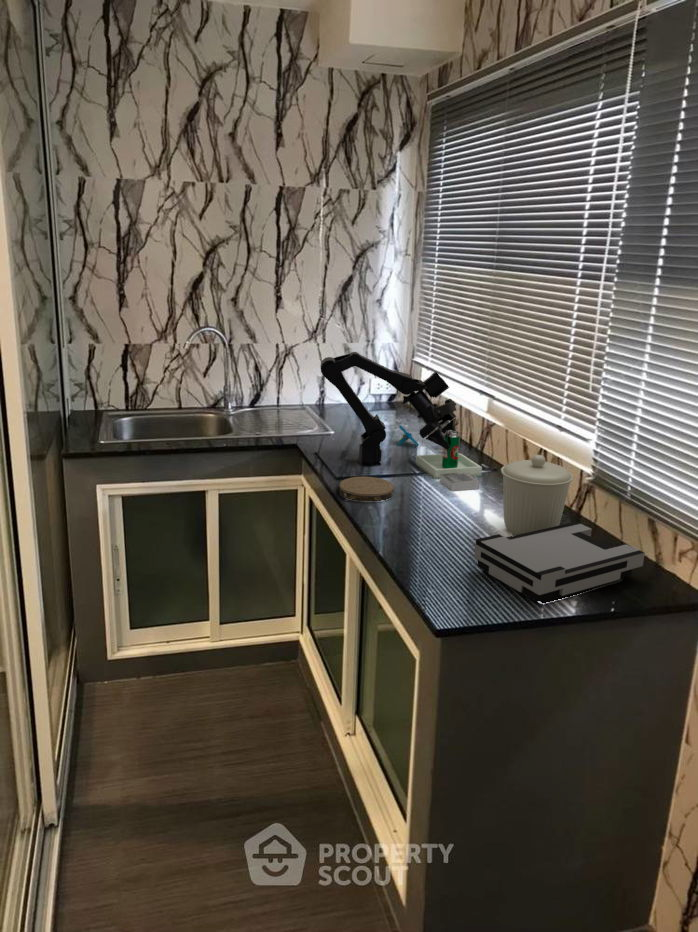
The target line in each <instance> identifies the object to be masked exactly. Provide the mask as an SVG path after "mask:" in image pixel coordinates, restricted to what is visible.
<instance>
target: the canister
mask: <svg viewBox="0 0 698 932" xmlns="http://www.w3.org/2000/svg"><path fill="white" fill-rule="evenodd" d="M500 473H501V474H502V476H503V477H502V489H503V490H502V493H503V494H502V495H503V496H502V497H503V498H502V499H503V522H504V525H505V526H504V527H505V528H506V531H508V533H510V534H512V536H514V535H519V534H523V533H528V532H532V531H537V530H541V529H545V528H550V527H554V526H559V525H561V520H562V517H563V512H564V509H565V505H566V500H567V496H568V494H569V493H568V492H569V488H570V485H571V483H572V482H573V481H574V479H575V478H574V475H573V473H571V472H570V471H569V470H568V469H566V468H565V467H564V466H561V465H559V464H556V463H553V462H550V461H549V462H548V461H546V457H545V456H543V455H541V454H535V455H533V456H532V457H531V459H523V460H516V461H512V462H509V463H507V464H505V465H503V466H502V467H501V468H500Z"/></svg>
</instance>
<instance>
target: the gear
mask: <svg viewBox="0 0 698 932" xmlns="http://www.w3.org/2000/svg"><path fill="white" fill-rule="evenodd" d="M398 428H399V429H400V430H401V431H402V432H403V435H402V437H401V439H399V440H398V443H397V445H398V446H400V447H401V446H402V445H403V444H404V443H405V442H406V441H408V440H409V439H410V440H411V441H412V442H413V444H415V446H416V447H419V445H420V444H419V443H418V442H417V441H416V440H415V438H413V436H412V435H413V434H412V433H411V432H408V431H407V430H406V429H405V427H403V425H401V424H399V426H398Z"/></svg>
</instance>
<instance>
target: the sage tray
mask: <svg viewBox="0 0 698 932" xmlns="http://www.w3.org/2000/svg"><path fill="white" fill-rule="evenodd" d="M442 457H443V453H439V454H437V453H435V454H424V455H423V454H421V455H415V465H416V466H417V467H419V468H420V469H421V470H422V471H424V472H425V473H426V474H428V475H429V476H430V477H432V479H434V480H440V474H449V473H464V472H467V473H468V474H470V475H471V476H473V477H474V476H477V477H482V472H483V471H482V470H483V467H482V466H481V465H479V464H478V463H476V462H475V461H473V460H472V459H470V458H468V457H467V456H465V455H464V454H462V453H460V452H459V455H458V467H457V468H446V469H444V468H443V467H442ZM474 478H475V477H474Z"/></svg>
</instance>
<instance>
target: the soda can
mask: <svg viewBox="0 0 698 932" xmlns="http://www.w3.org/2000/svg"><path fill="white" fill-rule="evenodd" d="M443 436H444V438H445V439H446V441H447V442H448V444H449V446H450V448H449V449H445V448H444V447H442V454H443V457H442V467H443V468H444V469H446V468H457V467H458V455H459V453H460V452H459V451H460V442H461V435H460V432H459V431H457V430H456V431H446V433H445V434H444V433H443Z"/></svg>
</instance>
